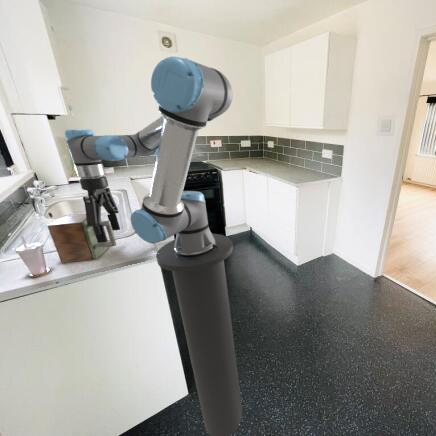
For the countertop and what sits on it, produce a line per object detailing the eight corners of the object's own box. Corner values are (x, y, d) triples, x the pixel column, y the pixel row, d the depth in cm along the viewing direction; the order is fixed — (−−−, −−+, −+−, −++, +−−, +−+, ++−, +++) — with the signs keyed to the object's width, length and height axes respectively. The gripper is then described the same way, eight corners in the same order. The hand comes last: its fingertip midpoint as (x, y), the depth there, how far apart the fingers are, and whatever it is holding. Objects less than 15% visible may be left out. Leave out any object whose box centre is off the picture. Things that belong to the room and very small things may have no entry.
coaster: (53, 268, 86) (53, 267, 86) (44, 276, 82) (43, 274, 81) (36, 270, 85) (36, 269, 85) (26, 278, 80) (25, 277, 80)
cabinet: (106, 246, 102) (95, 212, 96) (92, 259, 92) (80, 222, 86) (78, 249, 99) (66, 215, 94) (61, 263, 89) (46, 225, 84)
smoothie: (24, 272, 83) (7, 235, 78) (50, 264, 87) (35, 228, 82) (27, 279, 79) (10, 240, 74) (54, 270, 84) (39, 233, 79)
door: (127, 244, 103) (118, 211, 98) (117, 256, 93) (106, 220, 88) (106, 246, 102) (96, 213, 97) (93, 259, 92) (81, 222, 87)
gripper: (96, 172, 94) (111, 225, 101) (58, 184, 73) (81, 250, 80) (118, 171, 95) (131, 223, 103) (87, 183, 74) (107, 247, 82)
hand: (109, 235), depth 92 cm, fingers open, 10 cm apart
